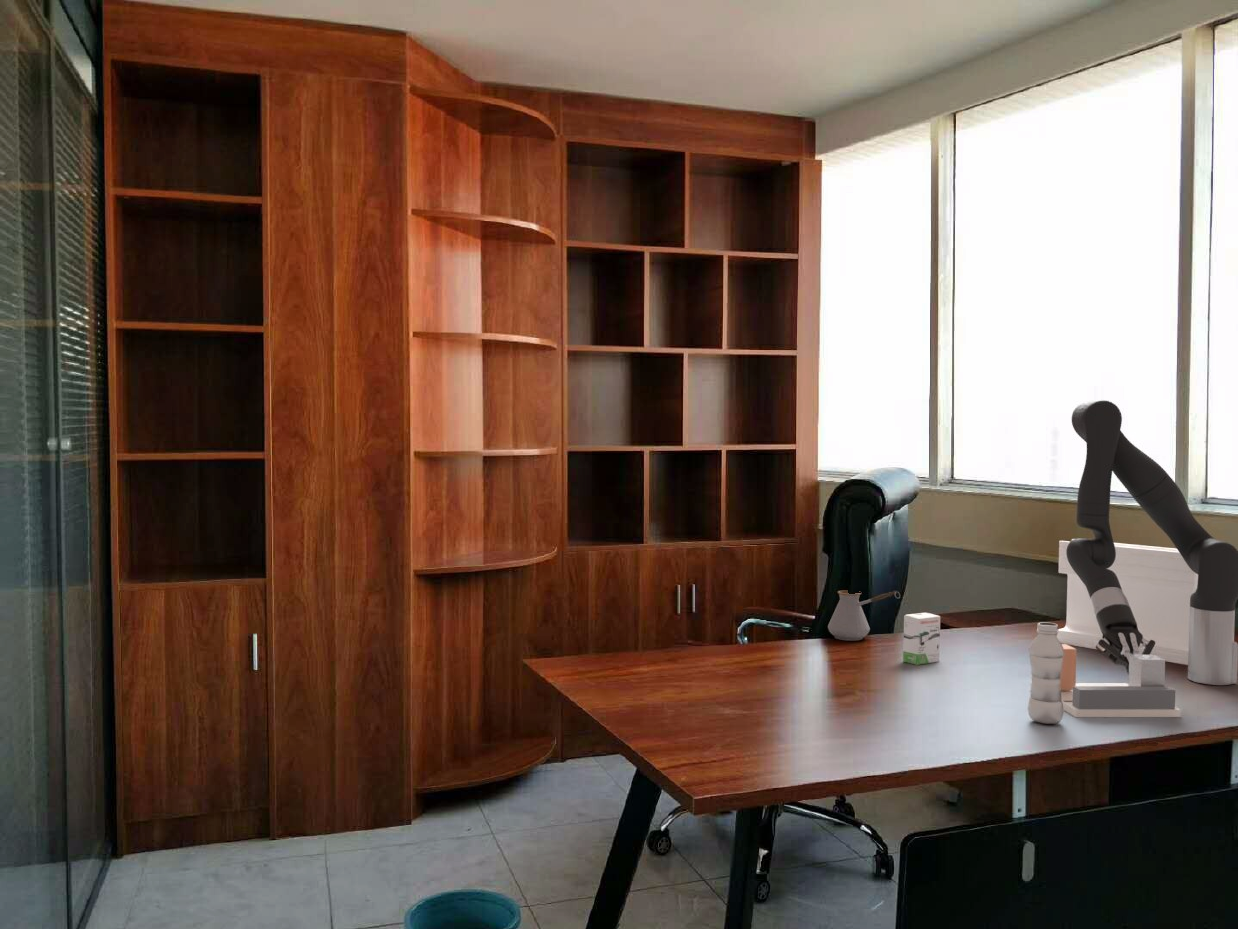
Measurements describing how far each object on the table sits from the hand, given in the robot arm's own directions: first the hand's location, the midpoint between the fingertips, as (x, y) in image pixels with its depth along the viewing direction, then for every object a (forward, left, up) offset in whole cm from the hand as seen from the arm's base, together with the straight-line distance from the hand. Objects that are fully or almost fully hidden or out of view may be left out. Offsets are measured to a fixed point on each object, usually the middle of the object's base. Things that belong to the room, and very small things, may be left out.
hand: (1138, 680), depth 227 cm
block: (-25, -53, -6) cm, 59 cm away
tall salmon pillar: (+14, -7, -3) cm, 16 cm away
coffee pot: (+42, -66, -6) cm, 78 cm away
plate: (+7, -2, -5) cm, 9 cm away
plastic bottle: (+26, +13, -6) cm, 30 cm away
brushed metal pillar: (0, +3, -3) cm, 5 cm away
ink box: (+34, -41, -6) cm, 53 cm away
